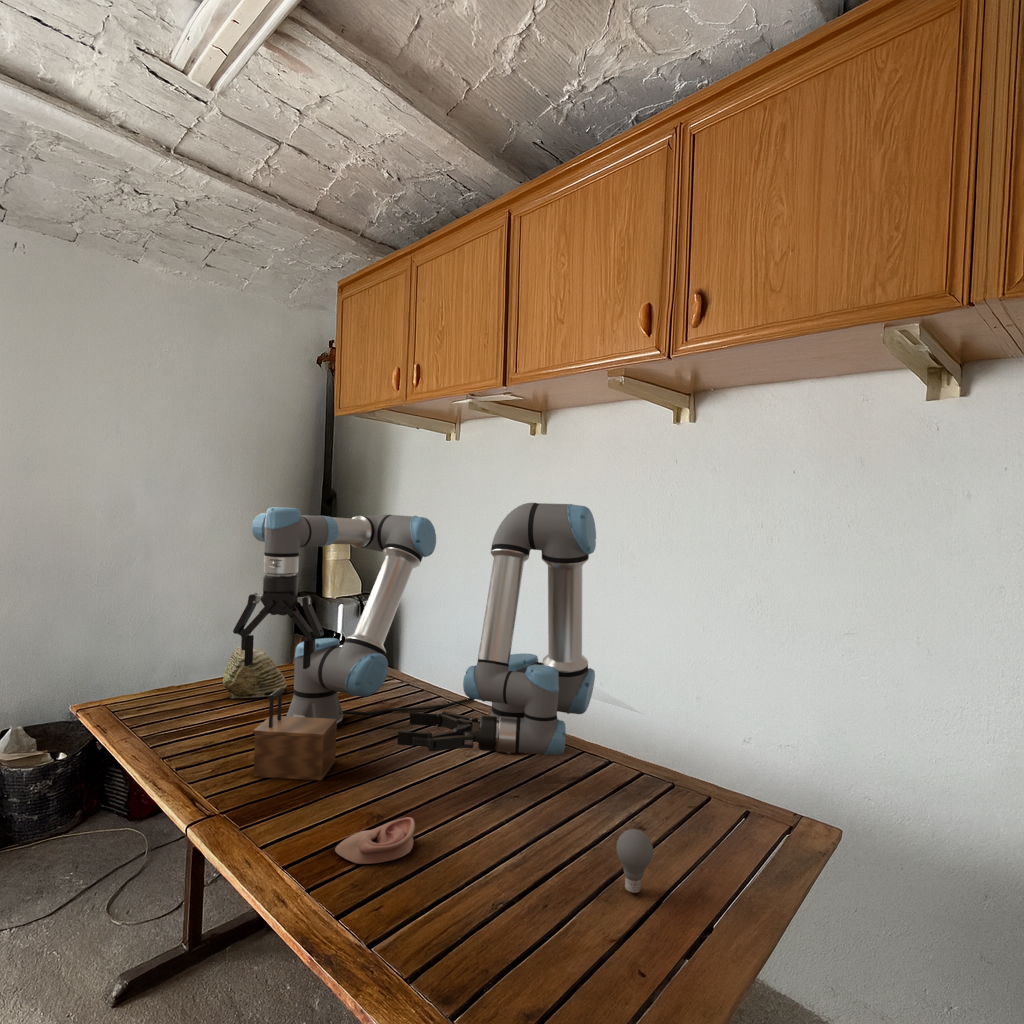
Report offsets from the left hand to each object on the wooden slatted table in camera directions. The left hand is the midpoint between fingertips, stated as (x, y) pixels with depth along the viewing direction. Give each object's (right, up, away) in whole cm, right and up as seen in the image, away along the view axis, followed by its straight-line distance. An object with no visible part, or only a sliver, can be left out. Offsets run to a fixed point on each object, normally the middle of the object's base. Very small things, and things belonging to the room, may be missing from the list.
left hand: (277, 666), depth 146 cm
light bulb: (+74, -28, -41) cm, 89 cm away
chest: (+4, -24, 0) cm, 24 cm away
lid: (+4, -14, 0) cm, 15 cm away
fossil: (-26, -22, +52) cm, 62 cm away
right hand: (+30, -14, -2) cm, 33 cm away
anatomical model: (+29, -26, -31) cm, 50 cm away
